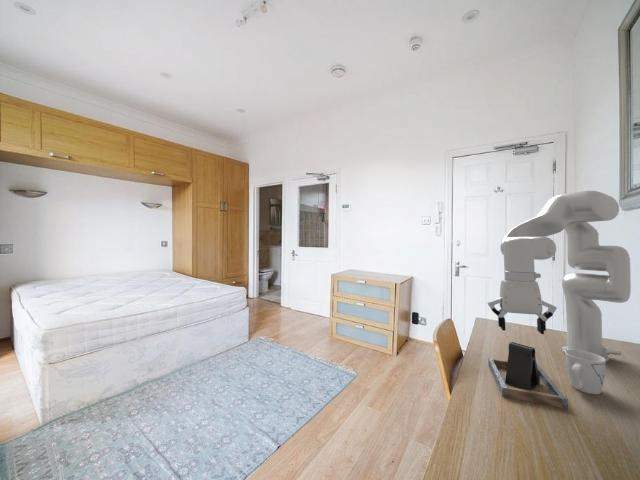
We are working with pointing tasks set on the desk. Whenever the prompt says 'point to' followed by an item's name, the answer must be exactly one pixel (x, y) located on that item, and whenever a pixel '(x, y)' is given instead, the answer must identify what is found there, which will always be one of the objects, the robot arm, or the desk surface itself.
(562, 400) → the wooden frame
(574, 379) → the mug
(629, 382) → the desk surface
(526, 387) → the phone stand
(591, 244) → the robot arm
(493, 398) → the desk surface
